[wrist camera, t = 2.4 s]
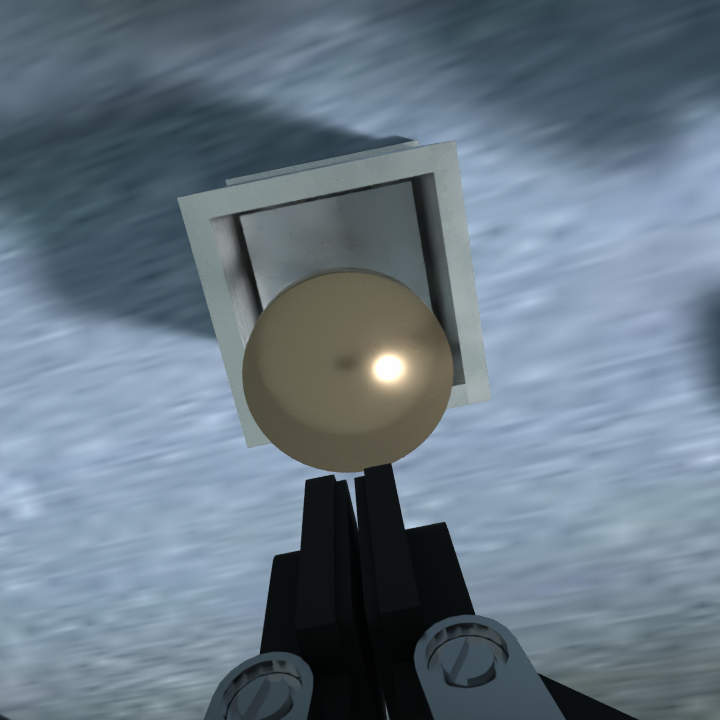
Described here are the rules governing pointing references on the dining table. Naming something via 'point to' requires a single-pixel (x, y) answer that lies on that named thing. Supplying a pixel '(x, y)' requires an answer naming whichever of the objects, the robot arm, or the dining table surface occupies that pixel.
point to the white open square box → (322, 180)
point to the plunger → (344, 331)
